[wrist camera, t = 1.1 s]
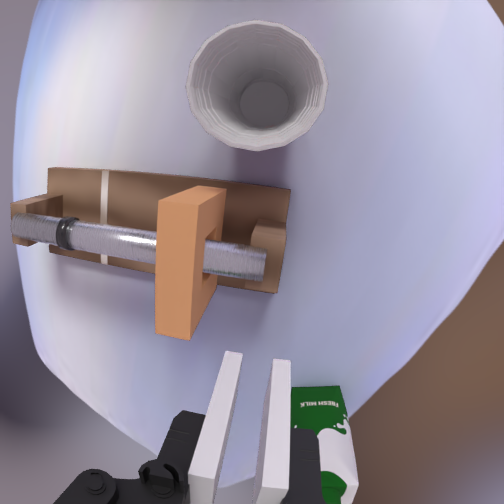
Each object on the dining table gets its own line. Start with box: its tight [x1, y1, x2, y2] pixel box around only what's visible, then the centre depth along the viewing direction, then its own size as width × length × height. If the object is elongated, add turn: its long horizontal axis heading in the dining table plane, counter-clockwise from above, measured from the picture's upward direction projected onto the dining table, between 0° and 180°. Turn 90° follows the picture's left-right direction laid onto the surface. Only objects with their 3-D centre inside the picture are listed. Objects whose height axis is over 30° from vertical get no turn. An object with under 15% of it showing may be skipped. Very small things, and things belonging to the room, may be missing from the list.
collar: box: [155, 185, 227, 341], centre depth 29 cm, size 11×3×11 cm, turn 173°
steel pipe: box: [11, 212, 267, 282], centre depth 29 cm, size 4×29×4 cm, turn 83°
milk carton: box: [290, 386, 359, 504], centre depth 34 cm, size 9×9×20 cm
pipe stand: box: [11, 167, 291, 294], centre depth 33 cm, size 12×32×9 cm, turn 83°
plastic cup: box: [186, 20, 328, 151], centre depth 27 cm, size 11×11×12 cm
